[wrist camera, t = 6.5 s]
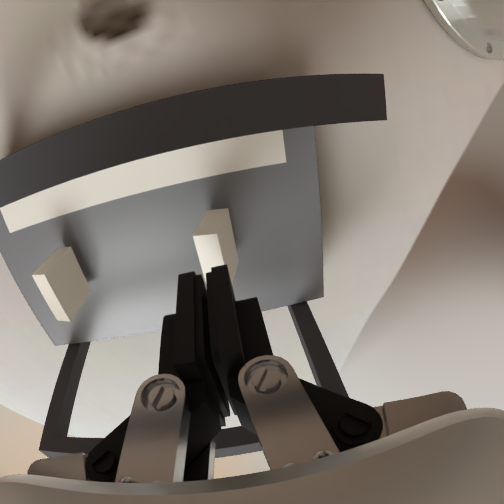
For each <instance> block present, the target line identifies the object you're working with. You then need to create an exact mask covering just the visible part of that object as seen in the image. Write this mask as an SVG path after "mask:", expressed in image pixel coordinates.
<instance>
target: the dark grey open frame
mask: <svg viewBox="0 0 504 504" xmlns="http://www.w3.org/2000/svg"><path fill="white" fill-rule="evenodd" d="M377 120H387V115H386V99H385V86H384V75H383V74H329V75H311V76H298V77H287V78H277V79H268V80H260V81H253V82H246V83H239V84H233V85H227V86H221V87H216V88H210V89H205V90H200V91H195V92H191V93H186V94H182V95H177V96H173V97H169V98H165V99H161V100H157V101H153V102H150V103H146V104H142V105H139V106H135V107H132V108H129V109H125V110H122V111H119V112H116V113H113V114H110V115H107V116H104V117H101V118H98V119H95V120H92V121H89V122H86V123H84V124H81V125H78V126H76V127H73V128H70V129H68V130H65V131H63V132H60V133H58V134H56V135H53V136H51V137H48V138H46V139H44V140H41V141H39V142H37V143H35V144H33V145H30V146H28V147H26V148H24V149H22V150H20V151H18V152H16V153H14V154H12V155H10V156H8V157H6V158H4V159H2V160H0V208H1V207H3V206H6V205H8V204H10V203H13V202H15V201H18V200H20V199H22V198H25V197H27V196H30V195H32V194H35V193H38V192H40V191H43V190H45V189H48V188H51V187H54V186H56V185H59V184H62V183H65V182H68V181H70V180H73V179H76V178H79V177H82V176H85V175H88V174H91V173H95V172H98V171H101V170H104V169H107V168H111V167H114V166H117V165H121V164H124V163H128V162H131V161H135V160H139V159H142V158H146V157H150V156H154V155H158V154H162V153H166V152H170V151H174V150H178V149H182V148H187V147H191V146H196V145H200V144H205V143H210V142H215V141H220V140H225V139H230V138H235V137H241V136H247V135H253V134H259V133H265V132H271V131H278V130H285V129H292V128H300V127H308V126H317V125H326V124H337V123H348V122H361V121H377ZM288 309H289V311H290V314H291V317H292V319H293V322H294V325H295V327H296V330H297V333H298V335H299V338H300V341H301V343H302V346H303V349H304V352H305V354H306V357H307V360H308V362H309V365H310V368H311V371H312V373H313V376H314V379H315V381H316V384H317V386H319V387H322V388H324V389H327V390H329V391H332V392H335V393H337V394H340V395H342V396H345V397H348V398H349V396H348V394H347V392H346V390H345V387H344V385H343V383H342V380H341V378H340V376H339V373H338V371H337V369H336V366H335V364H334V362H333V359H332V357H331V355H330V353H329V350H328V348H327V346H326V344H325V341H324V339H323V337H322V335H321V332H320V330H319V328H318V326H317V323H316V321H315V319H314V317H313V315H312V312H311V310H310V308H309V306H308V304H307V301H305V302H301V303H296V304H292V305H288ZM90 342H91V341H90ZM90 342H82V343H74V344H69V346H68V349H67V352H66V355H65V358H64V360H63V363H62V366H61V370H60V373H59V376H58V379H57V382H56V385H55V389H54V392H53V396H52V399H51V403H50V406H49V410H48V414H47V417H46V421H45V425H44V429H43V434H42V438H41V442H40V447H39V450H40V451H41V452H42V453H44V454H45V455H46V456H47V457H49V458H53V457H59V456H65V455H70V454H76V453H81V452H83V453H84V454H89V453H90V451H91V450H92V449H93V448H94V447H95V446H96V445H97V444H99V443H100V442H101V441H102V440H103V439H104V438H75V437H67V433H68V428H69V423H70V419H71V414H72V410H73V405H74V401H75V397H76V393H77V389H78V385H79V381H80V377H81V373H82V370H83V366H84V362H85V359H86V355H87V352H88V349H89V345H90ZM215 443H216V445H215V458H219V457H226V456H233V455H239V454H245V453H251V452H256V451H262V448H261V445H260V443H259V440H258V438H257V435H256V434H255V433H253V432H251V431H249V430H248V429H246V428H244V427H242V426H239V427H233V428H227V429H221V431H220V432H219V433H218V434H217V435H216V436H215Z"/></svg>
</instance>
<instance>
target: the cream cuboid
mask: <svg viewBox="0 0 504 504" xmlns="http://www.w3.org/2000/svg"><path fill="white" fill-rule="evenodd" d="M193 239H194V243H195V246H196V250H197V253H198V257H199V261H200V264H201V268H202V271H203V275H204V278H205V282H206V273H208V272H211V267H216V266H221V265H225V264H227V266H228V271H229V275H230V279H231V283H232V284H233V280H234V277H235V273H236V269H237V265H238V261H239V259H238V254H237V249H236V244H235V240H234V235H233V230H232V225H231V220H230V215H229V210H228V208H225V209H215V210H207V211H206V213H205V215H204V217H203V218H202V220H201V222H200V224H199V226H198V227H197V229H196V231H195V233H194V235H193Z"/></svg>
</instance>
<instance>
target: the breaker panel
mask: <svg viewBox="0 0 504 504" xmlns="http://www.w3.org/2000/svg"><path fill="white" fill-rule="evenodd" d="M225 208H228V210H229V215H230V220H231V225H232V230H233V235H234V240H235V244H236V249H237V254H238V259H239V261H238V265H237V269H236V273H235V277H234V280H233V284H232V287H233V291H234V296H235V300H236V301H240V300H244V299H249V298H254V297H257V299H258V302H259V306H260V309H261V311H266V310H270V309H275V308H279V307H283V306H288V305H292V304H296V303H301V302H305V301H309V300H313V299H317V298H322V297H324V287H323V252H322V229H321V210H320V194H319V180H318V168H317V156H316V145H315V135H314V126H308V127H300V128H292V129H285V130H278V131H271V132H265V133H259V134H253V135H247V136H241V137H235V138H230V139H225V140H220V141H215V142H210V143H205V144H200V145H196V146H191V147H187V148H182V149H178V150H174V151H170V152H166V153H162V154H158V155H154V156H150V157H146V158H142V159H139V160H135V161H131V162H128V163H124V164H121V165H117V166H114V167H111V168H107V169H104V170H101V171H98V172H95V173H91V174H88V175H85V176H82V177H79V178H76V179H73V180H70V181H68V182H65V183H62V184H59V185H56V186H54V187H51V188H48V189H45V190H43V191H40V192H38V193H35V194H32V195H30V196H27V197H25V198H22V199H20V200H18V201H15V202H13V203H10V204H8V205H6V206H3V207H1V208H0V252H1V254H2V256H3V258H4V260H5V262H6V264H7V266H8V268H9V270H10V272H11V274H12V276H13V278H14V280H15V282H16V283H17V285H18V287H19V289H20V291H21V293H22V294H23V296H24V298H25V300H26V301H27V303H28V305H29V306H30V308H31V310H32V311H33V313H34V315H35V316H36V318H37V319H38V321H39V323H40V324H41V326H42V327H43V329H44V330H45V332H46V333H47V335H48V336H49V338H50V339H51V341H52V342H53V344H54V345H55V346H57V345H65V344H74V343H82V342H90V341H97V340H104V339H111V338H118V337H125V336H132V335H138V334H144V333H151V332H157V331H162V324H163V317H164V316H165V315H170V314H175V313H176V301H177V287H178V275H179V274H183V273H188V272H192V271H195V273H196V275H199V274H202V277H203V280H204V283H205V287H206V290H207V286H206V282H205V278H204V275H203V271H202V268H201V264H200V261H199V257H198V253H197V250H196V246H195V243H194V239H193V235H194V233H195V231H196V229H197V227H198V226H199V224H200V222H201V220H202V218H203V217H204V215H205V213H206V211H207V210H215V209H225ZM62 247H71V248H72V250H73V252H74V254H75V257H76V259H77V261H78V263H79V266H80V268H81V270H82V272H83V274H84V276H85V278H86V280H87V282H88V285H89V287H90V289H91V291H92V292H91V293H90V295H89V296H88V298H87V299H86V300H85V302H84V303H83V304H82V306H81V307H80V309H79V310H78V312H77V313H76V314H75V316H74V317H73V319H72V320H71V322H69V321H57V319H56V318H55V316H54V314H53V313H52V311H51V309H50V307H49V306H48V304H47V302H46V301H45V299H44V297H43V295H42V293H41V292H40V290H39V288H38V286H37V284H36V282H35V280H34V279H33V277H32V274H33V273H34V272H35V271H36V270H37V269H38V268H39V267H40V266H41V265H42V264H43V263H44V262H45V261H46V260H47V259H48V258H49V257H50V256H51V255H52V254H53V253H54V252H55V251H56V250H57V249H58V248H62Z"/></svg>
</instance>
